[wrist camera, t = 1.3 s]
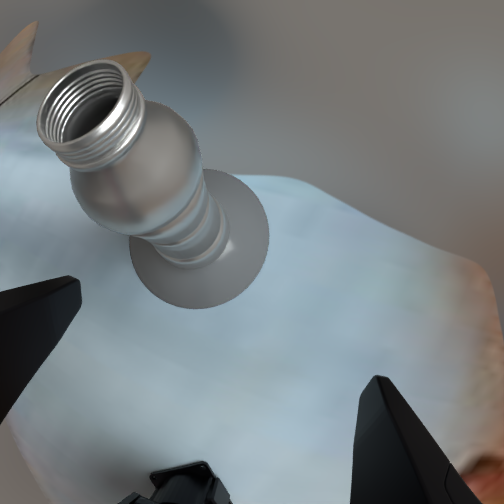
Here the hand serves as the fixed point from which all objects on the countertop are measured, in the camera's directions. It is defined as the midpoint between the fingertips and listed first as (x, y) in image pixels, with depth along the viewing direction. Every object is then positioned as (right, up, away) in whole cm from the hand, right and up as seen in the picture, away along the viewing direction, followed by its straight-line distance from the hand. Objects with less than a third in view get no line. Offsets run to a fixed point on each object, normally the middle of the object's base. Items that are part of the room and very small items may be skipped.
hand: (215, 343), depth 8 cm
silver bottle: (-4, +4, +20) cm, 20 cm away
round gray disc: (-4, +4, +20) cm, 20 cm away
